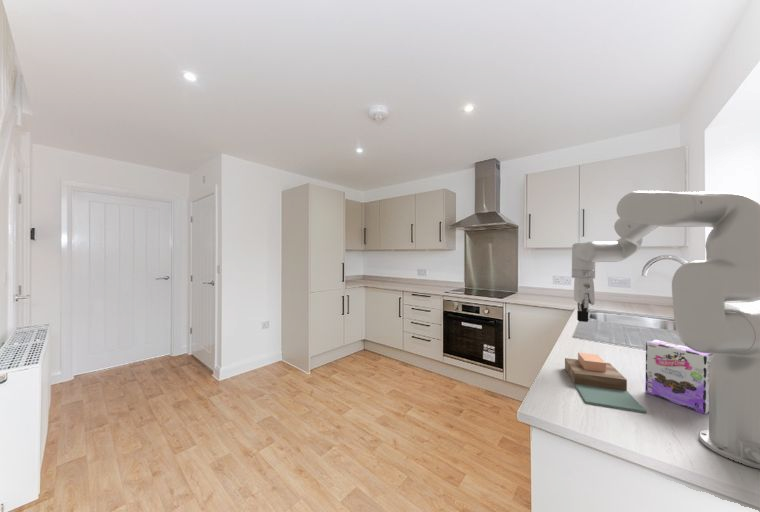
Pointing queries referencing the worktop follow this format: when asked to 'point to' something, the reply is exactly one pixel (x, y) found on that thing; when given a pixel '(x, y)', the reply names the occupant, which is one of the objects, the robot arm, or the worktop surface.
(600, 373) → the brown block
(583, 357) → the peach rectangular block
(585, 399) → the mat
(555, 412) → the worktop surface
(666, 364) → the candy box
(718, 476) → the worktop surface
